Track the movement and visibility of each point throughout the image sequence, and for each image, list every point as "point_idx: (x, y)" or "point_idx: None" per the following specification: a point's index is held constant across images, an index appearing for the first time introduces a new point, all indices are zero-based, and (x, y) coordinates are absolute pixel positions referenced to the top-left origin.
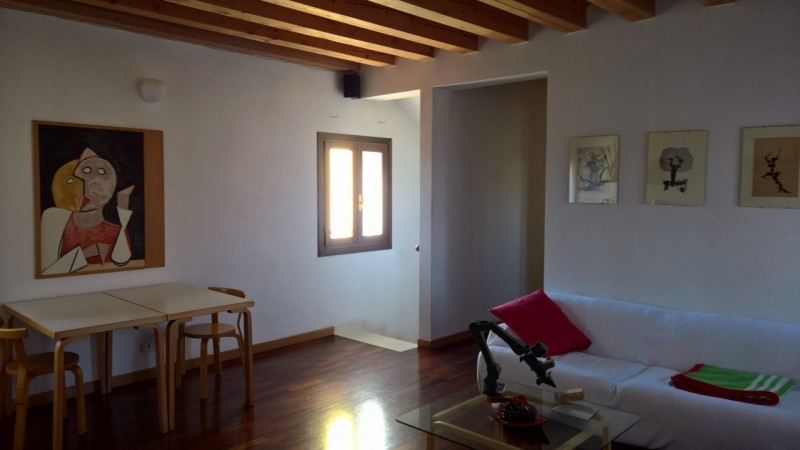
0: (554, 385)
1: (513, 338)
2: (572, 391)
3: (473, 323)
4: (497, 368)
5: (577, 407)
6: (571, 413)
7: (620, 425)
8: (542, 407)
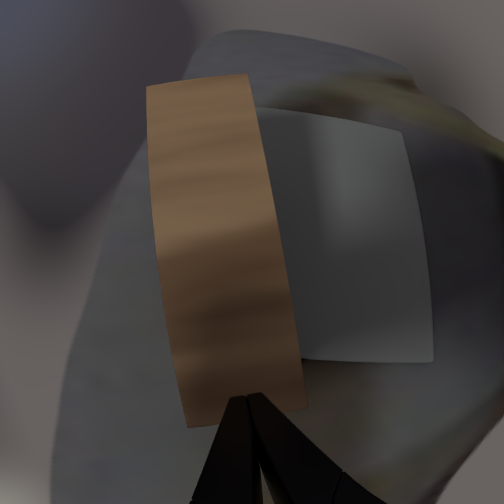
0: (285, 421)
1: None
2: (223, 171)
3: None
4: None
5: None
6: (396, 215)
7: (336, 49)
8: (414, 445)
